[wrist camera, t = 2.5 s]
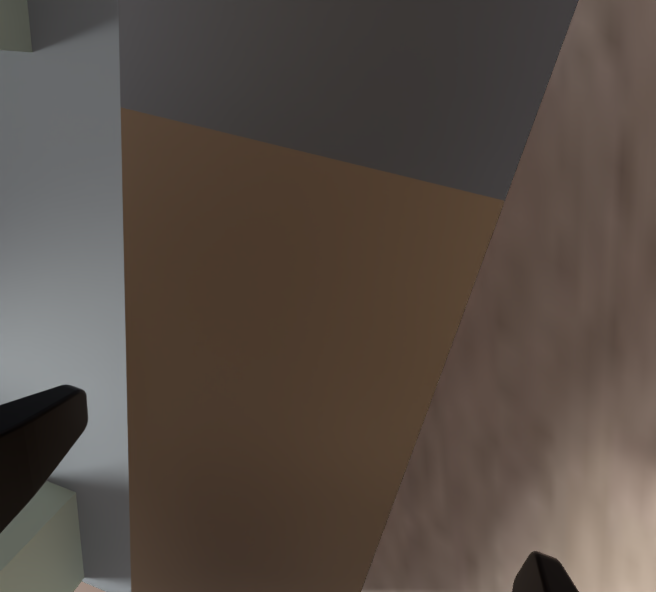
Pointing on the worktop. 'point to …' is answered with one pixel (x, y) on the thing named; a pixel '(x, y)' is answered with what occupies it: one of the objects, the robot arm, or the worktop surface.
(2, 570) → the post frame
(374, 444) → the rail
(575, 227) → the worktop surface
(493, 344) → the worktop surface
